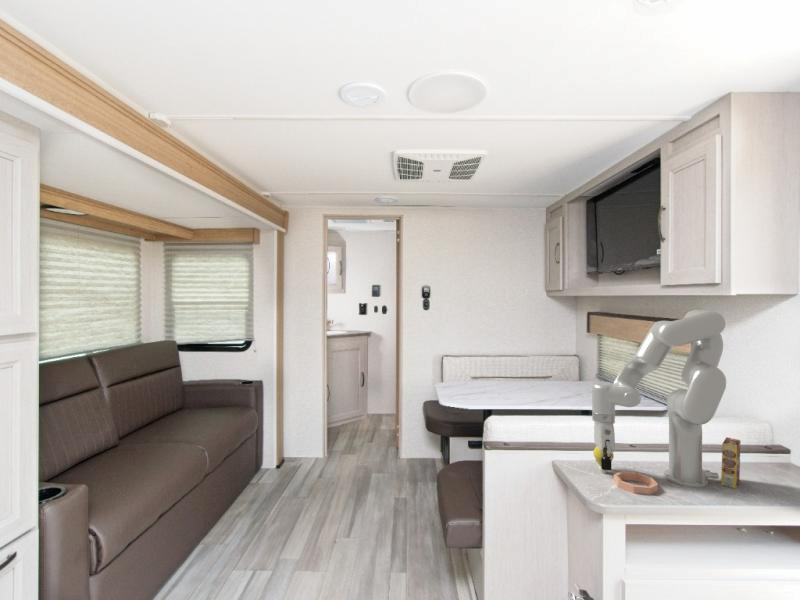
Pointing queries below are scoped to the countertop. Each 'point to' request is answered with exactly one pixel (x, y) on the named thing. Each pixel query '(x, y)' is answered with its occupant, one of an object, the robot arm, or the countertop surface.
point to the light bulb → (598, 456)
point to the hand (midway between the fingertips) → (603, 465)
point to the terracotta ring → (635, 477)
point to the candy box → (730, 462)
